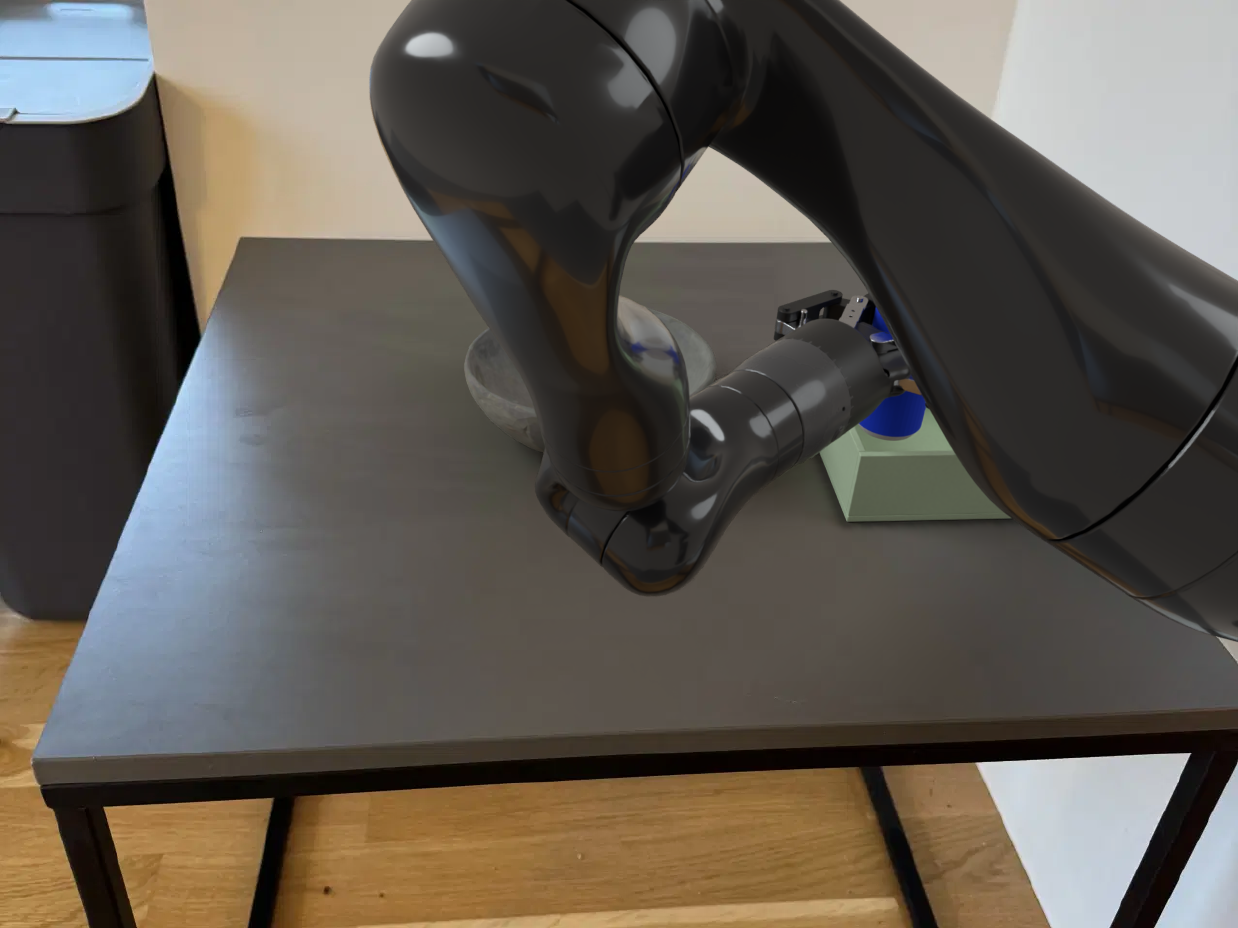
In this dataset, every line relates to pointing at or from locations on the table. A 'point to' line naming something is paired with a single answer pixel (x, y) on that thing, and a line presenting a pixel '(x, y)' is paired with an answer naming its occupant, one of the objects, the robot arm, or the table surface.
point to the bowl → (510, 399)
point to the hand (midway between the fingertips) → (926, 310)
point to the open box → (903, 478)
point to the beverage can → (894, 409)
